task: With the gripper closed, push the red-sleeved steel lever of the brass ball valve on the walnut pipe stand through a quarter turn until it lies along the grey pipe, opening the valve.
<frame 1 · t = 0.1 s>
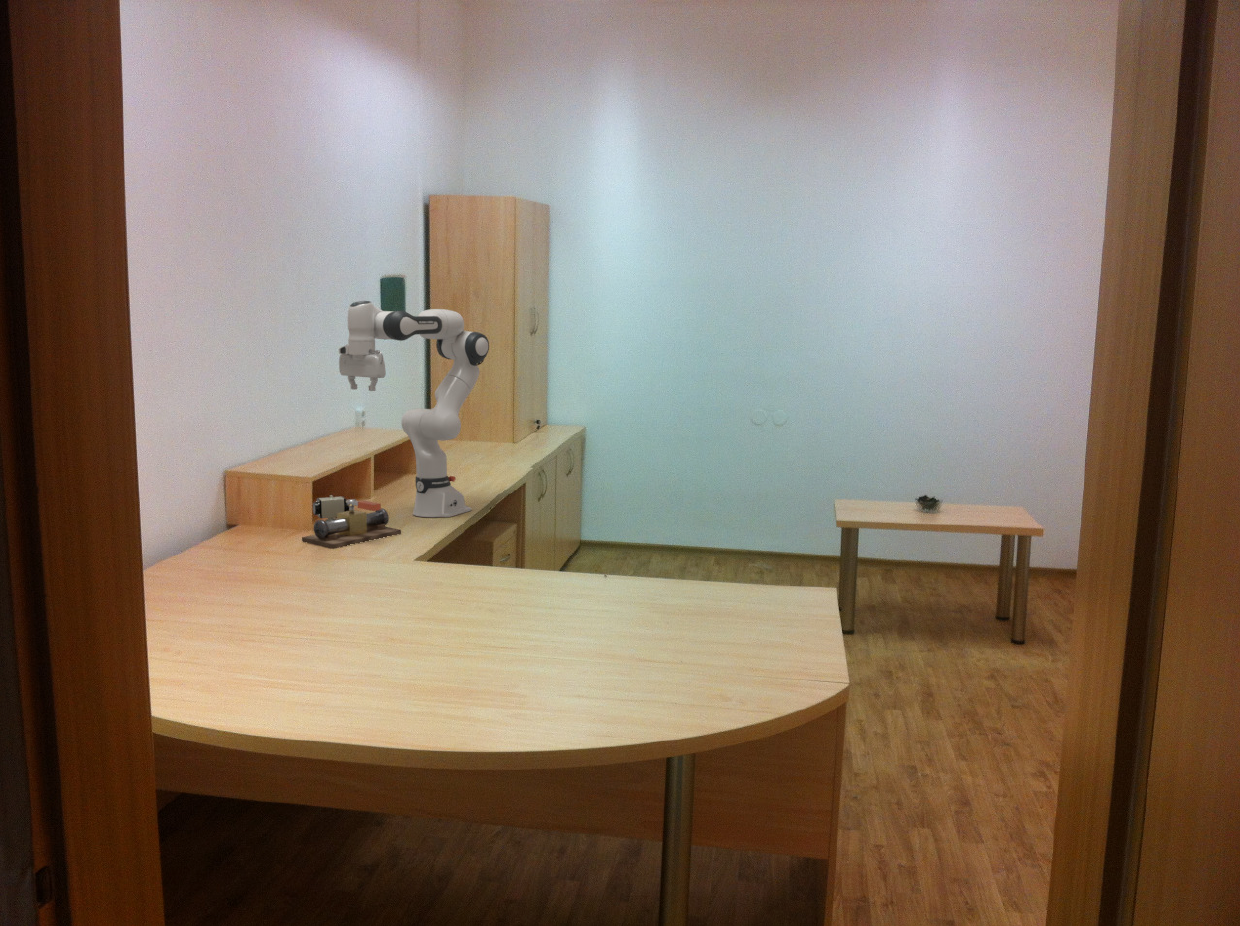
hand: (363, 390, 352), 48 cm above the table, tool pointing down, fingers open, 8 cm apart
pipe stand: (352, 537, 344), on the table
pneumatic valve: (332, 529, 356), on the table
valve lever: (362, 504, 338), point 12 cm above the table, hinge at 0.0°
ball valve: (351, 519, 343), point 6 cm above the table
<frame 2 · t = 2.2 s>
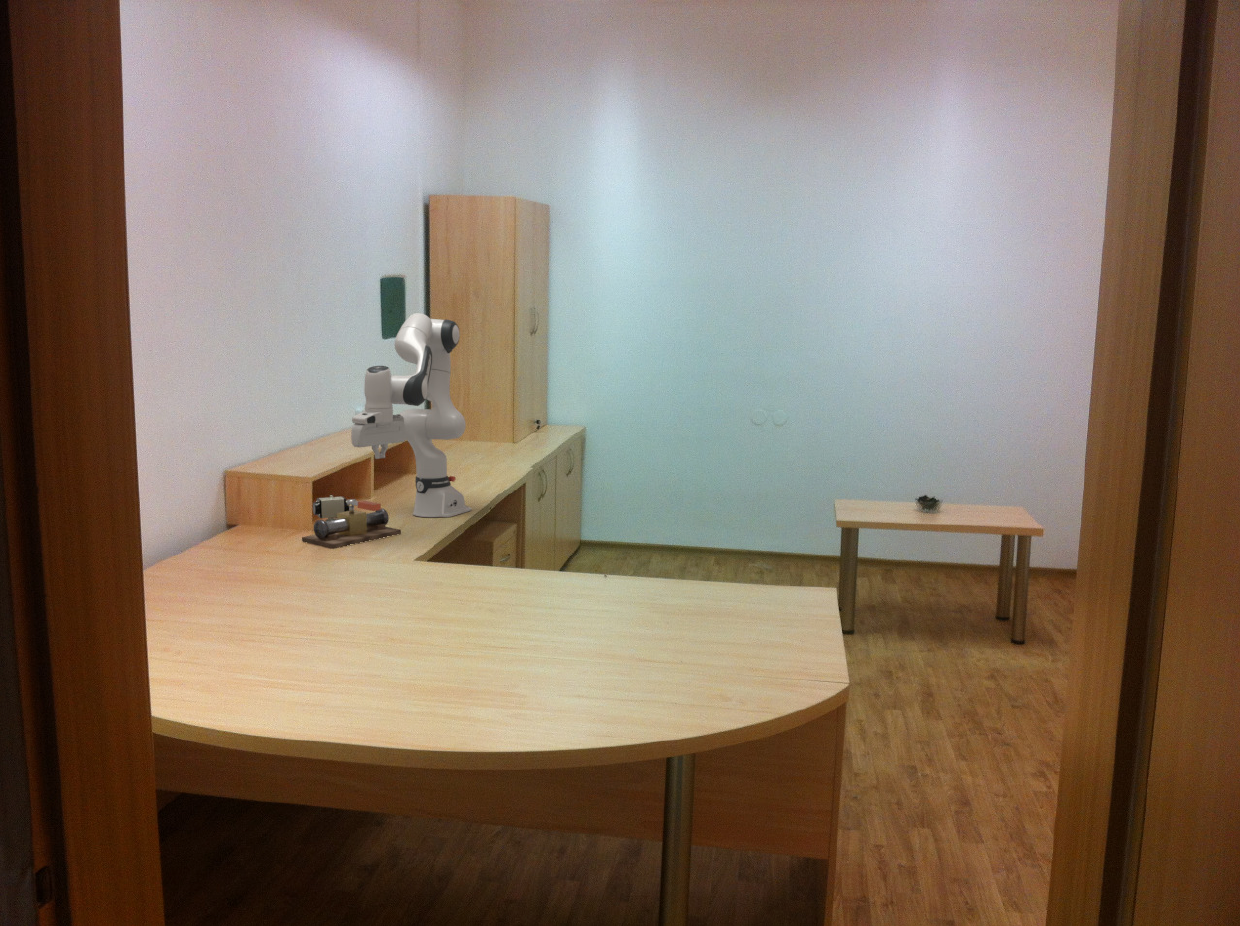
hand: (380, 458, 338), 27 cm above the table, tool pointing down, fingers closed
nothing on the table moved.
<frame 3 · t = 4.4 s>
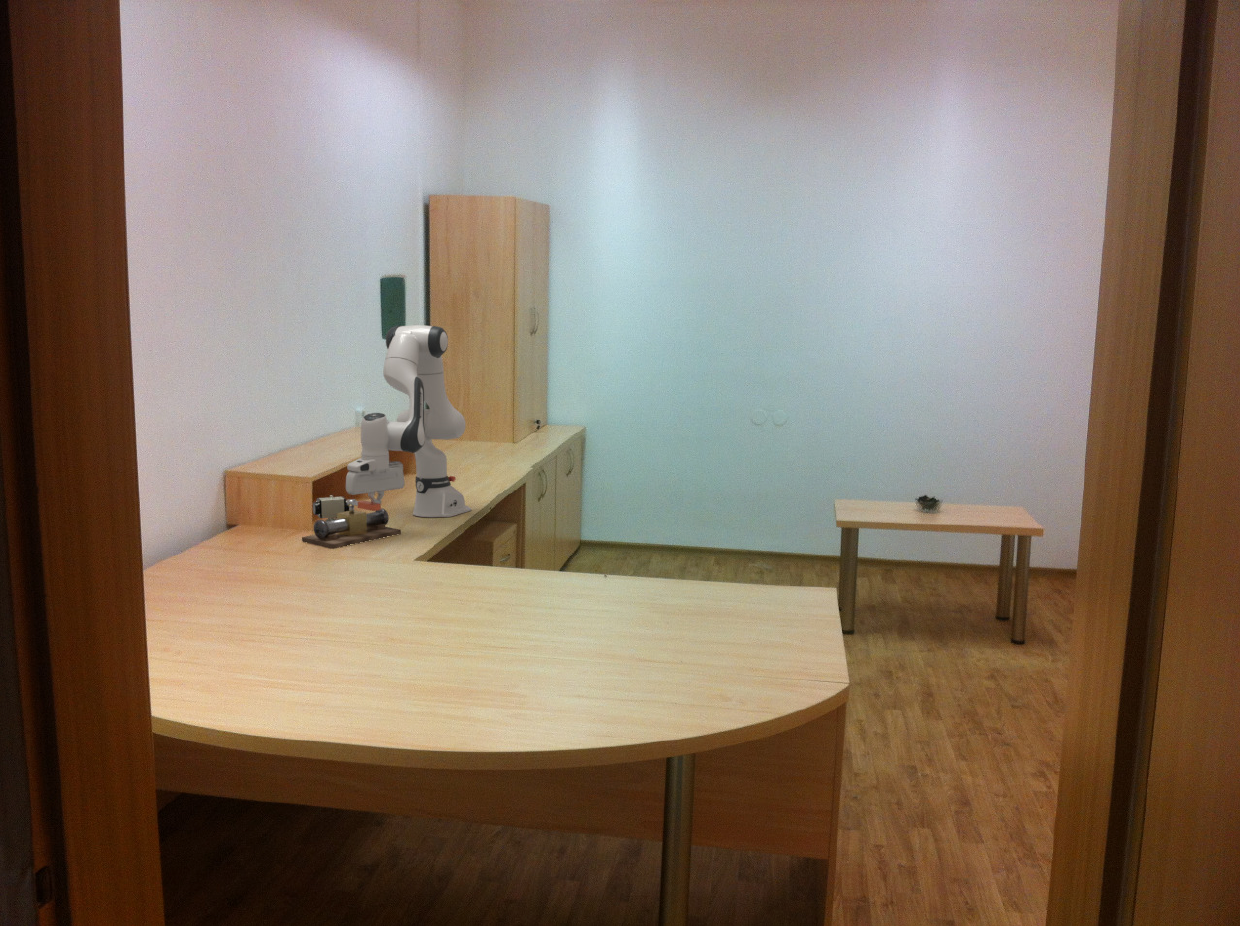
hand: (376, 505, 339), 12 cm above the table, tool pointing down, fingers closed
valve lever: (362, 504, 338), point 12 cm above the table, hinge at 0.0°, touching gripper
everything else where it was.
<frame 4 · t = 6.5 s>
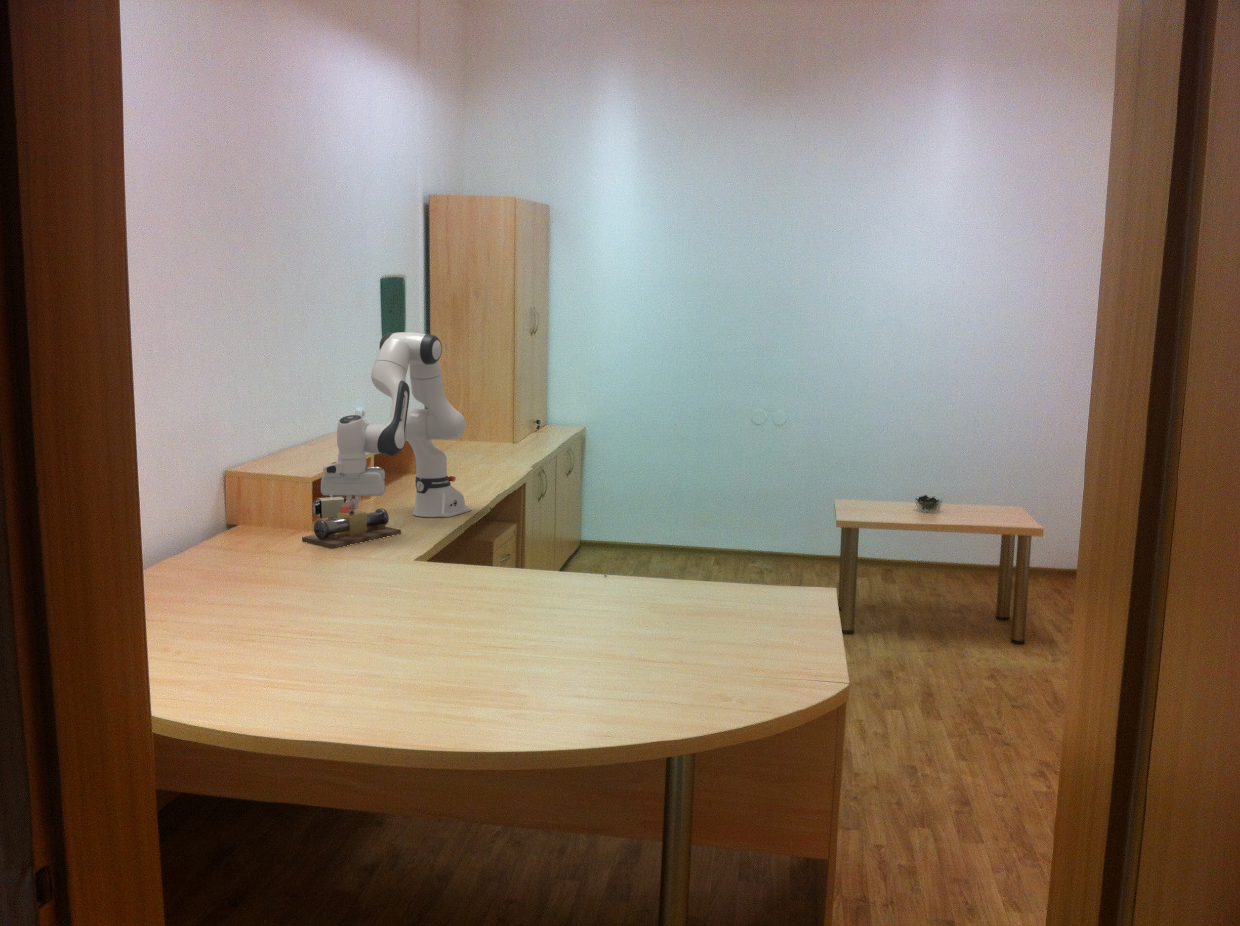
hand: (354, 508, 333), 12 cm above the table, tool pointing down, fingers closed
valve lever: (348, 505, 336), point 12 cm above the table, hinge at 47.6°, touching gripper
everything else where it was.
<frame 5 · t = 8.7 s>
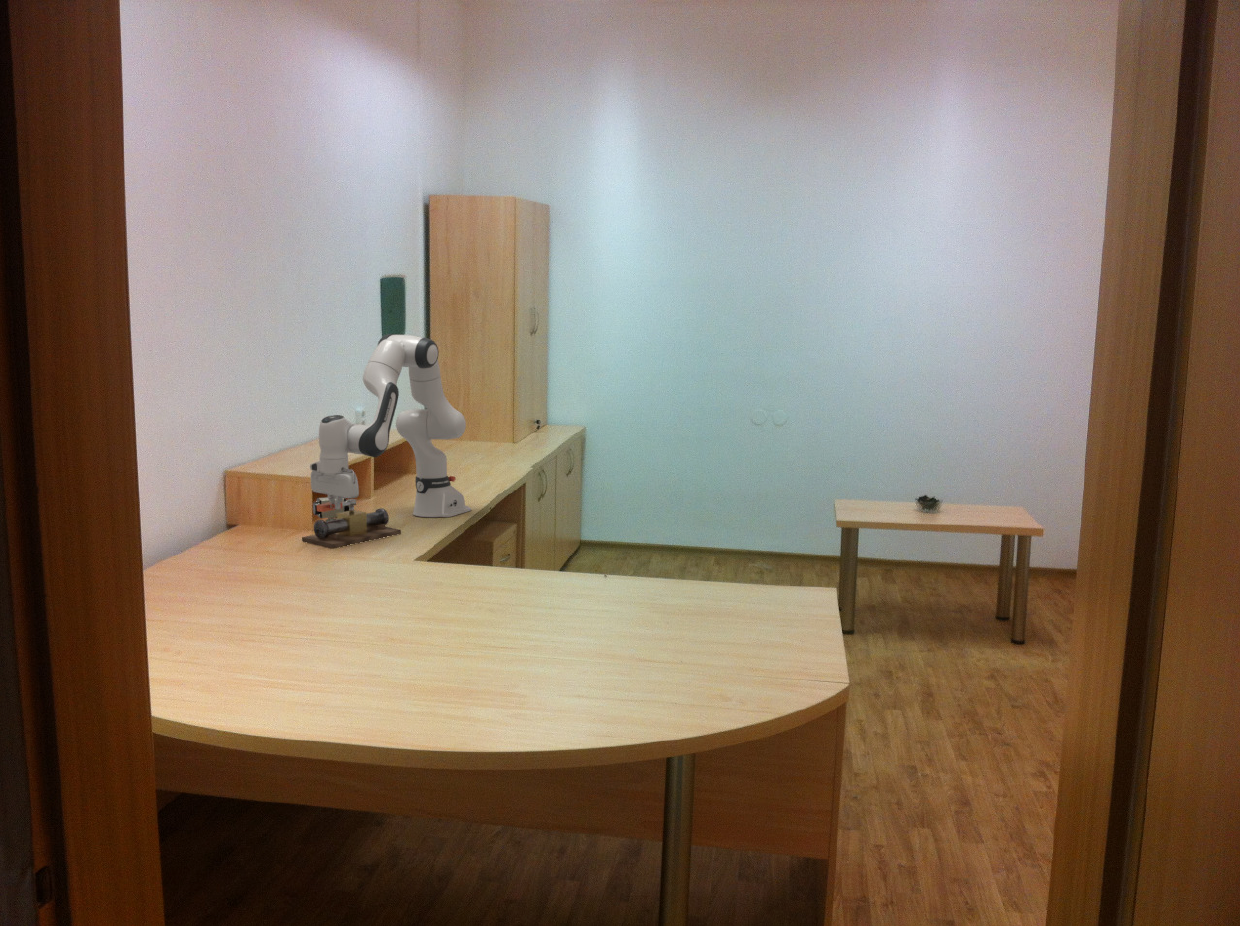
hand: (335, 508, 333), 12 cm above the table, tool pointing down, fingers closed
valve lever: (337, 505, 337), point 12 cm above the table, hinge at 87.9°
everything else where it was.
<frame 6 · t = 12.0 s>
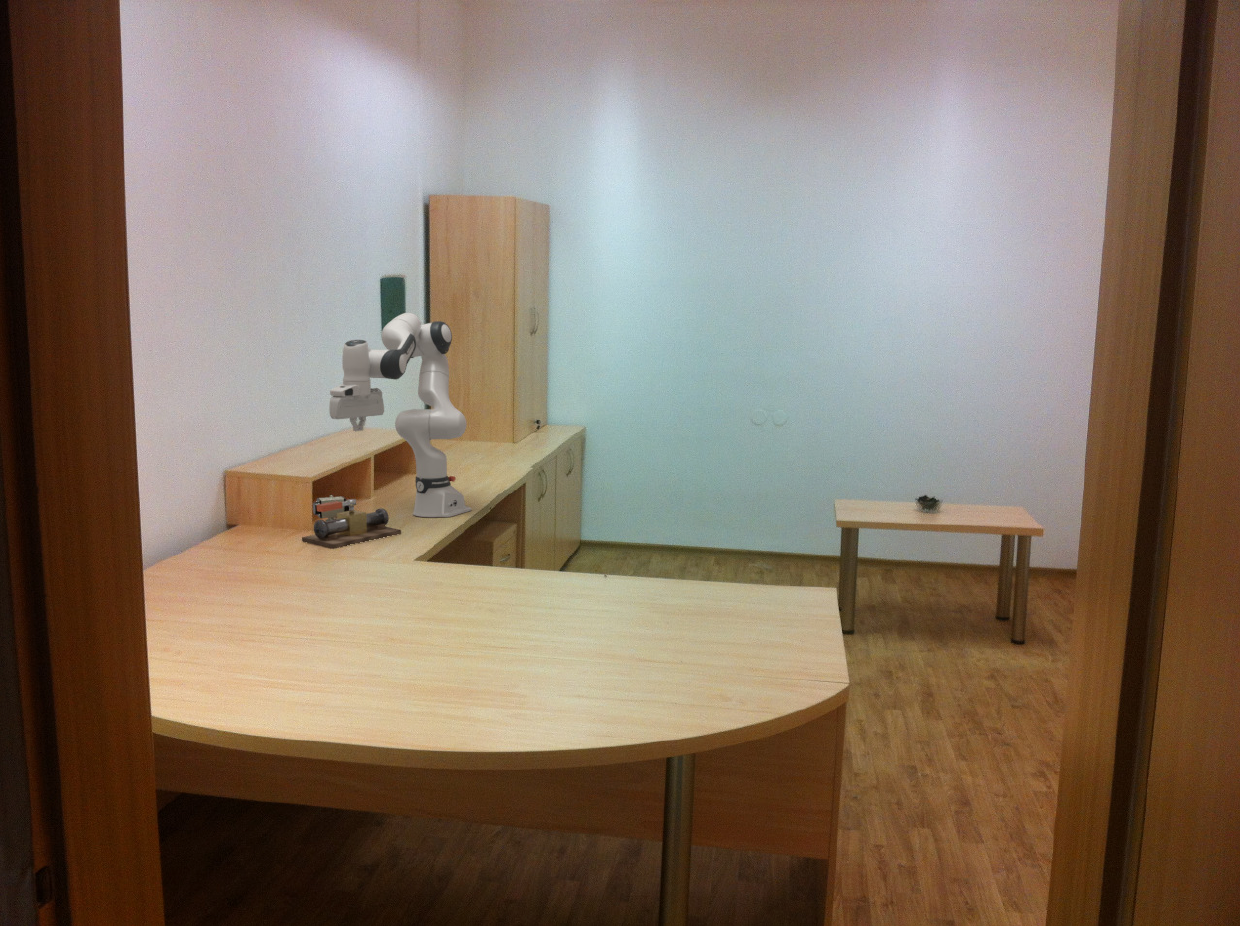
hand: (358, 430, 345), 35 cm above the table, tool pointing down, fingers closed
nothing on the table moved.
at the end: valve lever at +88° (first picture: +0°); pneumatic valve moved 0.2 cm from its start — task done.
